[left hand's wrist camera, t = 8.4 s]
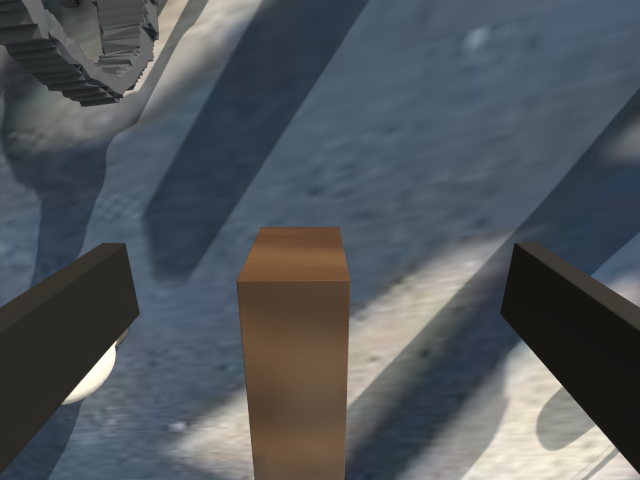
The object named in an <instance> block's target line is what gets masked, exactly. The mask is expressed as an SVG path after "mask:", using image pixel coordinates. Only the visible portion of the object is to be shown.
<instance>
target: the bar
mask: <svg viewBox="0 0 640 480" xmlns="http://www.w3.org/2000/svg"><path fill="white" fill-rule="evenodd" d="M236 282H237V293H238V303H239V314H240V325H241V336H242V347H243V358H244V368H245V379H246V390H247V401H248V412H249V423H250V433H251V444H252V455H253V466H254V477H255V480H344V472H345V438H346V405H347V371H348V338H349V304H350V277H349V272H348V267H347V263H346V258H345V253H344V248H343V243H342V238H341V233H340V228H339V227H262V228H260V231H259V233H258V235H257V237H256V239H255V242H254V244H253V246H252V248H251V250H250V253H249V255H248V257H247V259H246V261H245V264H244V266H243V268H242V270H241V272H240V275H239V277H238V279H237V281H236Z"/></svg>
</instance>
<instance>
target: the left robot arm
mask: <svg viewBox="0 0 640 480" xmlns="http://www.w3.org/2000/svg"><path fill="white" fill-rule="evenodd" d="M139 314H140V313H139V308H138V303H137V298H136V293H135V288H134V283H133V278H132V274H131V269H130V264H129V259H128V254H127V249H126V244H125V243H102V244H100V245H99V246H97V247H96V248H94V249H92V250H91V251H89V252H88V253H86V254H84V255H83V256H81V257H80V258H78V259H77V260H75V261H73V262H72V263H70V264H69V265H67V266H65V267H64V268H62V269H61V270H59V271H58V272H56V273H54V274H53V275H51V276H50V277H48V278H46V279H45V280H43V281H42V282H40V283H39V284H37V285H35V286H34V287H32V288H31V289H29V290H27V291H26V292H24V293H23V294H21V295H20V296H18V297H16V298H15V299H13V300H12V301H10V302H8V303H7V304H5V305H4V306H2V307H0V474H1V473H2V472H3V471H4V470H5V469H6V467H7V466H8V465H9V464H10V463H11V462H12V461H13V459H14V458H15V457H16V456H17V455H18V454H19V452H20V451H21V450H22V449H23V448H24V447H25V446H26V444H27V443H28V442H29V441H30V440H31V439H32V437H33V436H34V435H35V434H36V433H37V432H38V431H39V429H40V428H41V427H42V426H43V425H44V424H45V422H46V421H47V420H48V419H49V418H50V417H51V416H52V414H53V413H54V412H55V411H56V410H57V409H58V407H59V406H60V405H61V404H62V403H63V402H64V401H65V399H66V398H67V397H68V396H69V395H70V394H71V392H72V391H73V390H74V389H75V388H76V387H77V386H78V384H79V383H80V382H81V381H82V380H83V379H84V377H85V376H86V375H87V374H88V373H89V372H90V371H91V369H92V368H93V367H94V366H95V365H96V364H97V363H98V361H99V360H100V359H101V358H102V357H103V356H104V354H105V353H106V352H107V351H108V350H109V349H110V348H111V346H112V345H113V344H114V343H115V342H116V341H117V339H118V338H119V337H120V336H121V335H122V334H123V333H124V331H125V330H126V329H127V328H128V327H129V326H130V324H131V323H132V322H133V321H134V320H135V319H136V318H137V316H138V315H139ZM500 314H501V315H502V316H503V318H504V319H505V320H506V321H507V322H508V323H509V324H510V326H511V327H512V328H513V329H514V330H515V331H516V333H517V334H518V335H519V336H520V337H521V338H522V339H523V341H524V342H525V343H526V344H527V345H528V346H529V348H530V349H531V350H532V351H533V352H534V353H535V354H536V356H537V357H538V358H539V359H540V360H541V361H542V363H543V364H544V365H545V366H546V367H547V368H548V369H549V371H550V372H551V373H552V374H553V375H554V376H555V377H556V379H557V380H558V381H559V382H560V383H561V384H562V386H563V387H564V388H565V389H566V390H567V391H568V392H569V394H570V395H571V396H572V397H573V398H574V399H575V401H576V402H577V403H578V404H579V405H580V406H581V407H582V409H583V410H584V411H585V412H586V413H587V414H588V416H589V417H590V418H591V419H592V420H593V421H594V422H595V424H596V425H597V426H598V427H599V428H600V429H601V431H602V432H603V433H604V434H605V435H606V436H607V437H608V439H609V440H610V441H611V442H612V443H613V444H614V446H615V447H616V448H617V449H618V450H619V451H620V452H621V454H622V455H623V456H624V457H625V458H626V459H627V461H628V462H629V463H630V464H631V465H632V466H633V467H634V469H635V470H636V471H637V472H638V473H639V474H640V307H638V306H636V305H635V304H633V303H632V302H630V301H628V300H627V299H625V298H624V297H622V296H620V295H619V294H617V293H616V292H614V291H613V290H611V289H609V288H608V287H606V286H605V285H603V284H601V283H600V282H598V281H597V280H595V279H594V278H592V277H590V276H589V275H587V274H586V273H584V272H582V271H581V270H579V269H578V268H576V267H575V266H573V265H571V264H570V263H568V262H567V261H565V260H563V259H562V258H560V257H559V256H557V255H556V254H554V253H552V252H551V251H549V250H548V249H546V248H544V247H543V246H541V245H540V244H538V243H515V244H514V249H513V254H512V259H511V264H510V269H509V274H508V278H507V283H506V288H505V293H504V298H503V303H502V308H501V313H500Z"/></svg>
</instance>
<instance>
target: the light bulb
mask: <svg viewBox="0 0 640 480" xmlns="http://www.w3.org/2000/svg"><path fill="white" fill-rule="evenodd" d="M127 333H128V328H127V329H126V330H125V331H124V333H123V334H122V335H121V336H120V337H119V338H118V339H117V341H116V342H115V343H114V344H113V345H112V346H111V348H110V349H109V350H108V351H107V352H106V353H105V354H104V356H103V357H102V358H101V359H100V360H99V361H98V363H97V364H96V365H95V366H94V367H93V368H92V369H91V371H90V372H89V373H88V374H87V375H86V376H85V377H84V379H83V380H82V381H81V382H80V383H79V384H78V386H77V387H76V388H75V389H74V390H73V391H72V392H71V394H70V395H69V396H68V397H67V398H66V399H65V401H64V402H63V403H62V404H61V405H63V404H69V403H73V402H76V401H79V400H81V399H83V398H85V397H87V396H89V395H90V394H91V393H93V392H94V391H95V390H96V389H98V388H99V387H100V386H101V385H102V384H103V382H104V381H105V380H106V379H107V377H108V376H109V374H110V372H111V370H112V368H113V365H114V362H115V355H116V351H115V348H116V347H117V346H118V345H119V344H120V342H121V341H122V340H123V339H124V338H125V336H126V335H127Z"/></svg>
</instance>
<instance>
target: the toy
mask: <svg viewBox="0 0 640 480" xmlns="http://www.w3.org/2000/svg"><path fill="white" fill-rule="evenodd" d="M60 2H61V5H63V6H64V7H73V6H79V4H78V1H77V0H60ZM91 2H92V3H93V4H94V5H95V6H97V12H98V20H99V26H100V31H101V32H100V35H101V44H102V50H103V53H104V56H99V60H98V62H99V63H94V62H93V61H92V60H91V59H88V58H86V56H85V55H84V53H83V52H82V50H81V48H80V47H79V45H78V43H77V41H75V40H73V39H71V38H68V37H67V35H66V33H65V31H64V30H63V28H62V26H61V25H60V23H59V22H58V21H57V19H56V18H55V17H54V15H53V14H51V13H49V11H48V10H46V9H44V7H43V4H42V1H41V0H0V45H5V46H6V48H7V50H8V53H9V54H10V55H11V56H12V57H13V58H14V59H16V60H17V61H18V62H19V63H20V64H21V66H26V68H27V71H28V72H29V73H31V74H33V75H34V76H35V77H36V78H37V79H38V80H39V81H40V82H41V83H42V84H43V85H47V87H48V90H49V91H61V92H62V93H63V96H64V97H67V98H70V99H71V100H73V101H78V102H80V104H81V106H95V105H103V104H111V103H119V102H120V99H119V98H123V94H124V93H125V91H128V90H133V89H134V87H135V86H136V82H138V80H137V79H141V78H140V75H143V73H142V71H144V69H145V68H147V65H148V62H151V61H153V58H154V55H153V51H152V50H153V47H154V42H155V40H159V29H158V18H157V7H158V1H157V0H91Z"/></svg>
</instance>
